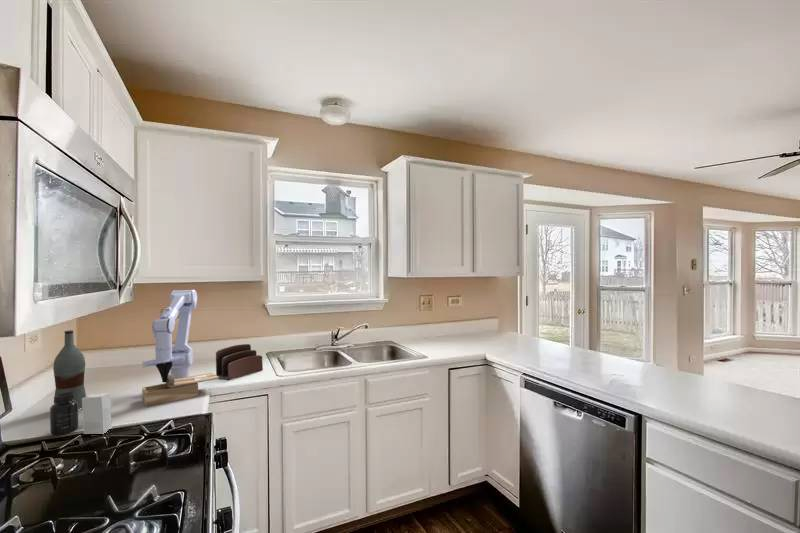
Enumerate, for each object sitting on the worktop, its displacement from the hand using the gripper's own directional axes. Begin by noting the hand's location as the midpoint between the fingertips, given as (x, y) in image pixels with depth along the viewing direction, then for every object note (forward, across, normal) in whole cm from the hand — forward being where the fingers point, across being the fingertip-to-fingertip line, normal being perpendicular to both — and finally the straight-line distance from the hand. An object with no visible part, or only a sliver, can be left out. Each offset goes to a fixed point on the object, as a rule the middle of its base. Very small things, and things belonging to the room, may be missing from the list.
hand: (164, 381), depth 152 cm
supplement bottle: (+7, -30, -14) cm, 34 cm away
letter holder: (+7, +35, +17) cm, 40 cm away
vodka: (+7, -29, +13) cm, 33 cm away
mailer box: (+7, +2, 0) cm, 7 cm away
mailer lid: (+2, +10, 0) cm, 10 cm away
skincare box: (+7, -22, -24) cm, 33 cm away
